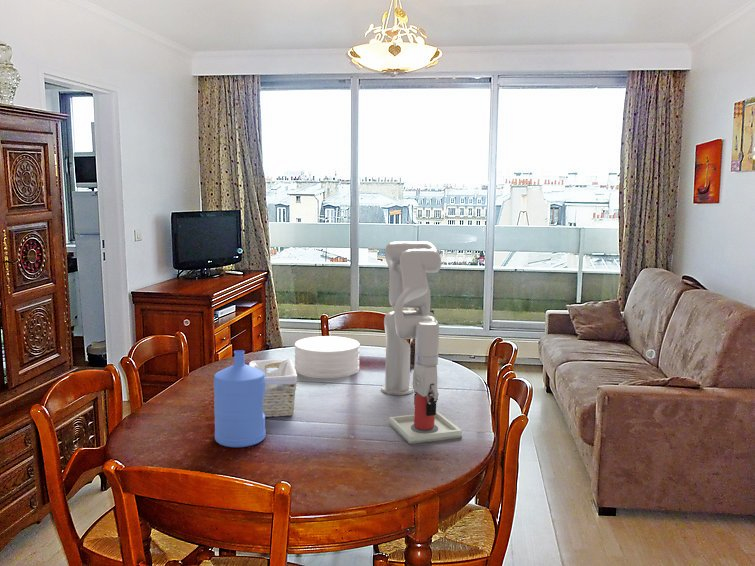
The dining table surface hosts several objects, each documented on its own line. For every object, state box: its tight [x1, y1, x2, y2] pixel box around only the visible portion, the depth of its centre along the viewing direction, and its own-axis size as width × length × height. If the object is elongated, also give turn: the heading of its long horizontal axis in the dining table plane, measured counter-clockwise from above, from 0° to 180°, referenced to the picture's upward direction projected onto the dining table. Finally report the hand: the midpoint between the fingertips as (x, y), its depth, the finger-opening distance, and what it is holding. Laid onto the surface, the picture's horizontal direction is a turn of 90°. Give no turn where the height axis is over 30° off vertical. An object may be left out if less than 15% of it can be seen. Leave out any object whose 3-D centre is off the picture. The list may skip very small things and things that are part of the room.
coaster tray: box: [388, 411, 463, 445], centre depth 212 cm, size 18×18×2 cm
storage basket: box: [248, 358, 298, 418], centre depth 231 cm, size 24×16×15 cm
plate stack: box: [294, 335, 361, 379], centre depth 281 cm, size 28×28×12 cm
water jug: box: [213, 349, 267, 448], centre depth 201 cm, size 16×16×28 cm
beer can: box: [413, 393, 435, 430], centre depth 211 cm, size 7×7×12 cm
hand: (424, 410), depth 211 cm, fingers open, 9 cm apart
